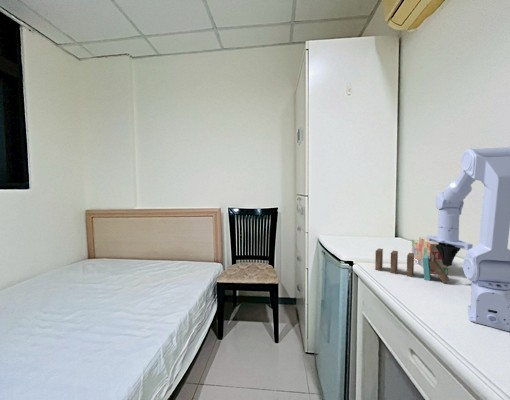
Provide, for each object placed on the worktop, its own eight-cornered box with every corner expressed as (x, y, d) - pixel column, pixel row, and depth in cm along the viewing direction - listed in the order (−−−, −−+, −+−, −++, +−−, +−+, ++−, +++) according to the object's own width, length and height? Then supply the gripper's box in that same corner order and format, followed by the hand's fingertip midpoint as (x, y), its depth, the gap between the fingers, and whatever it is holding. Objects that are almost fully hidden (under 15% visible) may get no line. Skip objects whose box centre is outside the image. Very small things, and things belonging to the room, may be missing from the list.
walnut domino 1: (382, 267, 100) (382, 248, 99) (379, 270, 96) (379, 251, 95) (378, 266, 101) (378, 248, 100) (375, 269, 97) (375, 250, 96)
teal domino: (430, 276, 89) (429, 255, 89) (429, 280, 85) (427, 258, 85) (425, 275, 90) (423, 254, 90) (424, 279, 86) (422, 257, 86)
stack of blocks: (411, 258, 112) (412, 232, 112) (426, 259, 110) (427, 233, 110) (429, 274, 92) (430, 243, 91) (448, 275, 90) (449, 244, 89)
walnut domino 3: (413, 273, 92) (413, 253, 92) (411, 277, 89) (412, 256, 88) (408, 272, 93) (409, 252, 93) (406, 276, 90) (407, 255, 89)
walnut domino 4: (448, 277, 85) (433, 257, 88) (448, 281, 82) (432, 260, 84) (444, 279, 86) (429, 259, 89) (443, 283, 83) (428, 262, 85)
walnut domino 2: (397, 270, 96) (397, 251, 96) (395, 273, 92) (395, 253, 92) (392, 269, 97) (393, 250, 97) (390, 272, 93) (390, 253, 93)
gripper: (420, 224, 89) (419, 259, 90) (460, 231, 75) (459, 273, 76) (436, 223, 91) (435, 258, 91) (478, 230, 76) (476, 271, 77)
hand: (447, 265), depth 84 cm, fingers closed
